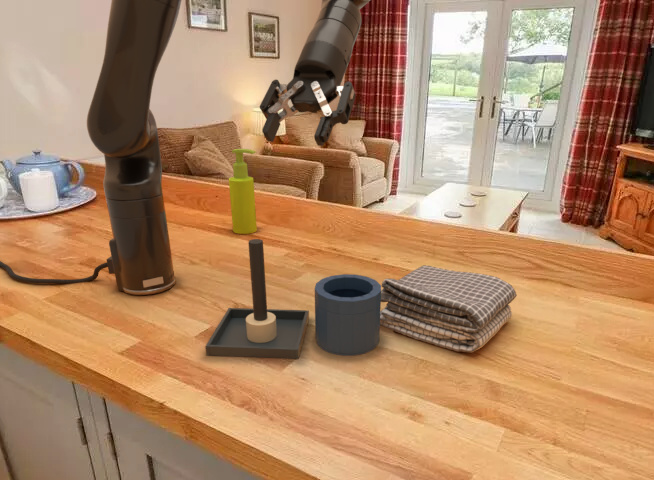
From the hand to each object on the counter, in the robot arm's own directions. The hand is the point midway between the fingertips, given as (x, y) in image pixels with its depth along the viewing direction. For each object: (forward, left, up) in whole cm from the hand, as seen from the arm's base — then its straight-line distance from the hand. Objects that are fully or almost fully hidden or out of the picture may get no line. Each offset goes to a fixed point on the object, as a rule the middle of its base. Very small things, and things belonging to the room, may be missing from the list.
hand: (292, 140), depth 73 cm
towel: (+24, -4, -28) cm, 37 cm away
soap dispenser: (-19, +42, -28) cm, 54 cm away
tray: (-4, -11, -28) cm, 30 cm away
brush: (-4, -11, -27) cm, 30 cm away
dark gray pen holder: (+9, -11, -28) cm, 31 cm away
